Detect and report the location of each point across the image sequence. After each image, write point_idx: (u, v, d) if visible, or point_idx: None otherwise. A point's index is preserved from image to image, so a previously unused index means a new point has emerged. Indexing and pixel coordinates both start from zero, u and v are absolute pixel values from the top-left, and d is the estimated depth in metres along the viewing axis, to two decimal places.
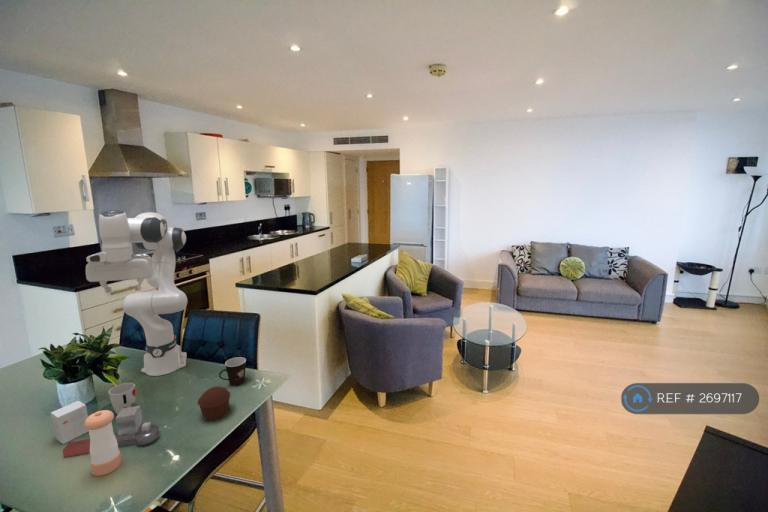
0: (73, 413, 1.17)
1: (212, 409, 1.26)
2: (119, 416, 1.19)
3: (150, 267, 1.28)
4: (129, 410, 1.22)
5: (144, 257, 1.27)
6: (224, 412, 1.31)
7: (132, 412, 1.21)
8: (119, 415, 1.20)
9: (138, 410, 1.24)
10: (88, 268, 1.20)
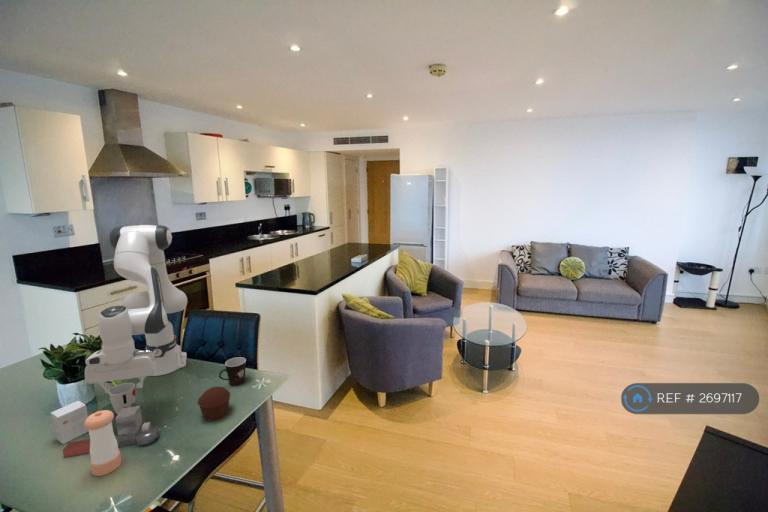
0: (73, 413, 1.17)
1: (212, 409, 1.26)
2: (119, 416, 1.19)
3: (153, 363, 1.21)
4: (129, 410, 1.22)
5: (147, 353, 1.20)
6: (224, 412, 1.31)
7: (132, 412, 1.21)
8: (119, 415, 1.20)
9: (138, 410, 1.24)
10: (87, 370, 1.13)
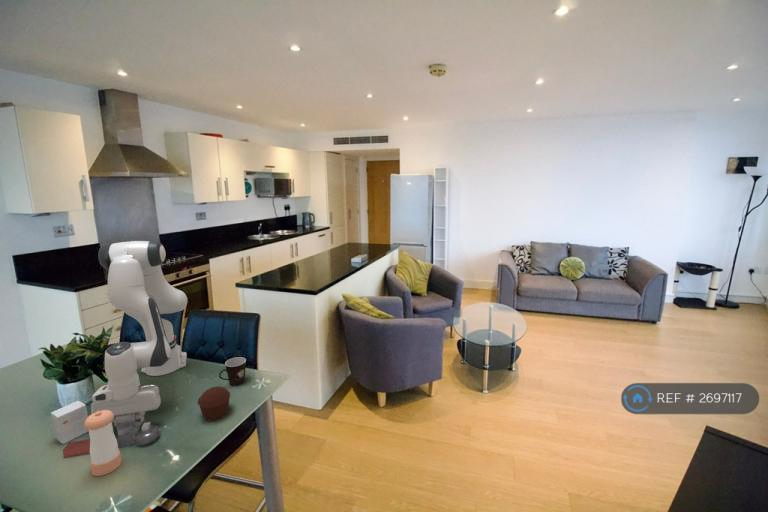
0: (73, 413, 1.17)
1: (212, 409, 1.26)
2: (119, 416, 1.19)
3: (157, 397, 1.24)
4: None
5: (151, 388, 1.22)
6: (224, 412, 1.31)
7: None
8: (119, 415, 1.20)
9: None
10: (93, 406, 1.16)
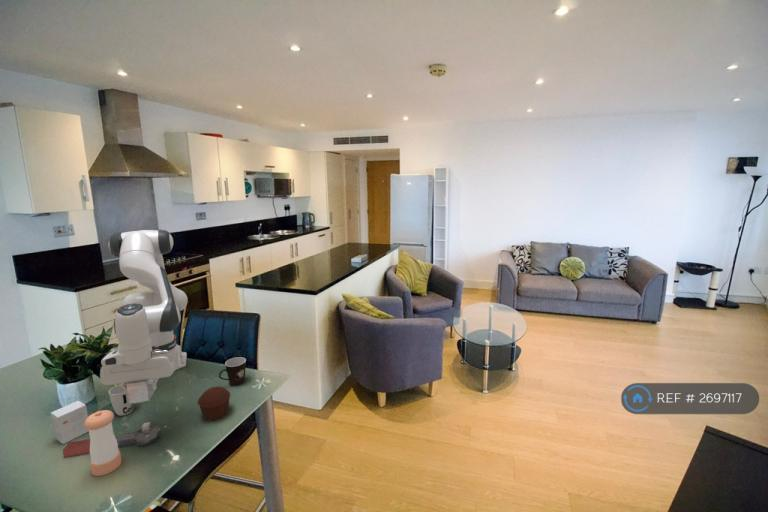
0: (73, 413, 1.17)
1: (212, 409, 1.26)
2: (130, 383, 1.11)
3: (171, 364, 1.15)
4: None
5: (164, 354, 1.14)
6: (224, 412, 1.31)
7: None
8: (130, 382, 1.11)
9: None
10: (103, 371, 1.08)
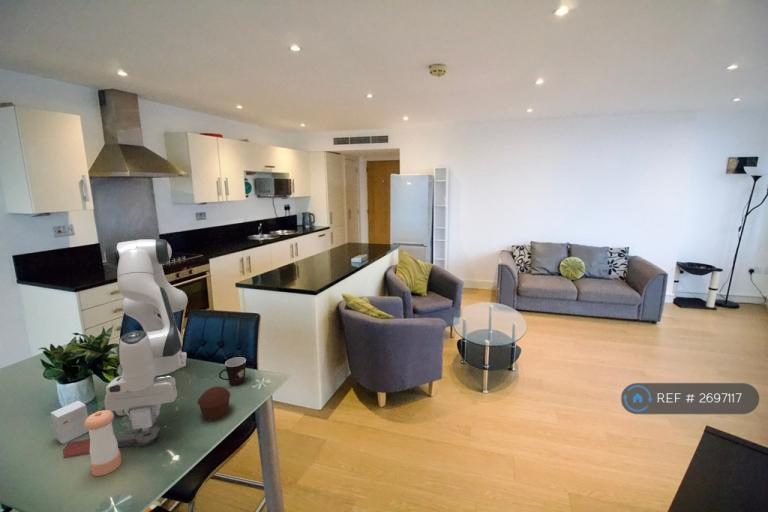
0: (73, 413, 1.17)
1: (212, 409, 1.26)
2: (134, 409, 1.13)
3: (174, 389, 1.17)
4: None
5: (167, 379, 1.16)
6: (224, 412, 1.31)
7: None
8: (134, 408, 1.13)
9: None
10: (107, 398, 1.10)
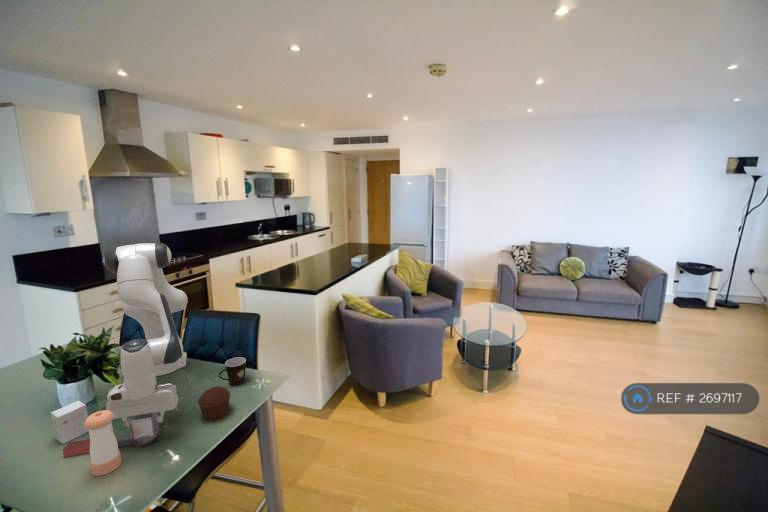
0: (73, 413, 1.17)
1: (212, 409, 1.26)
2: (135, 419, 1.13)
3: (175, 397, 1.18)
4: None
5: (168, 387, 1.16)
6: (224, 412, 1.31)
7: (148, 414, 1.16)
8: (135, 418, 1.14)
9: (155, 412, 1.18)
10: (108, 406, 1.10)
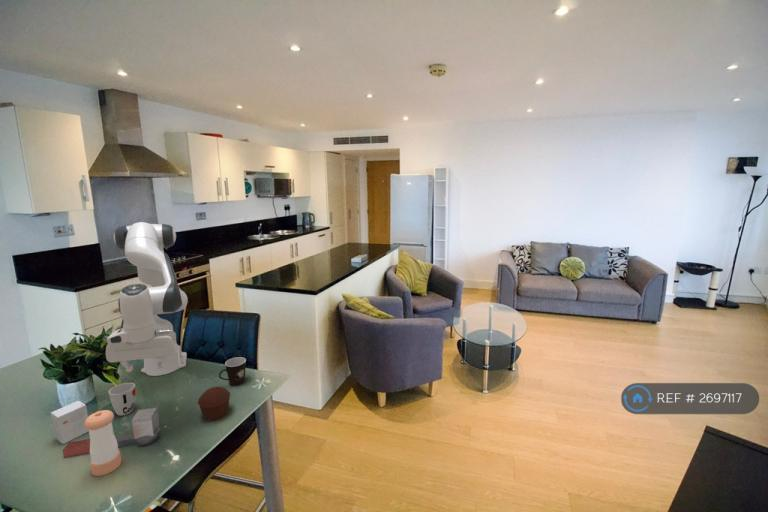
0: (73, 413, 1.17)
1: (212, 409, 1.26)
2: (135, 419, 1.13)
3: (174, 343, 1.18)
4: (146, 412, 1.17)
5: (168, 333, 1.17)
6: (224, 412, 1.31)
7: (149, 414, 1.16)
8: (135, 418, 1.14)
9: (155, 412, 1.18)
10: (108, 349, 1.11)
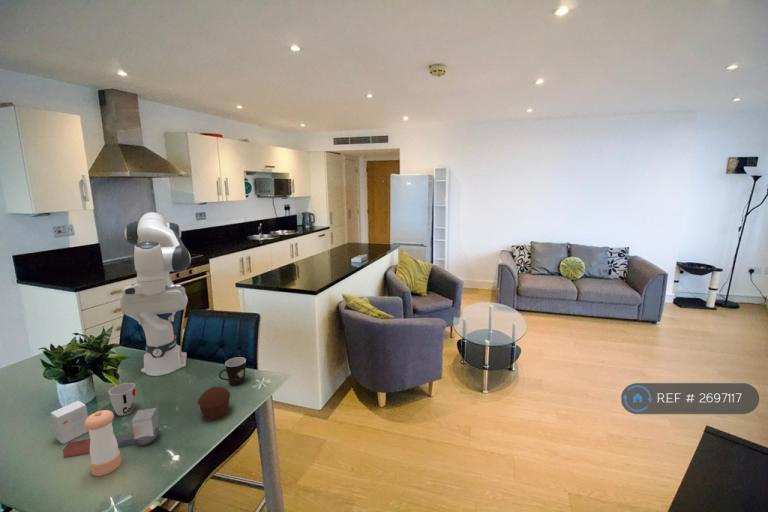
0: (73, 413, 1.17)
1: (212, 409, 1.26)
2: (135, 419, 1.13)
3: (184, 298, 1.27)
4: (145, 412, 1.17)
5: (178, 288, 1.25)
6: (224, 412, 1.31)
7: (149, 414, 1.16)
8: (135, 418, 1.14)
9: (155, 412, 1.18)
10: (123, 300, 1.19)
